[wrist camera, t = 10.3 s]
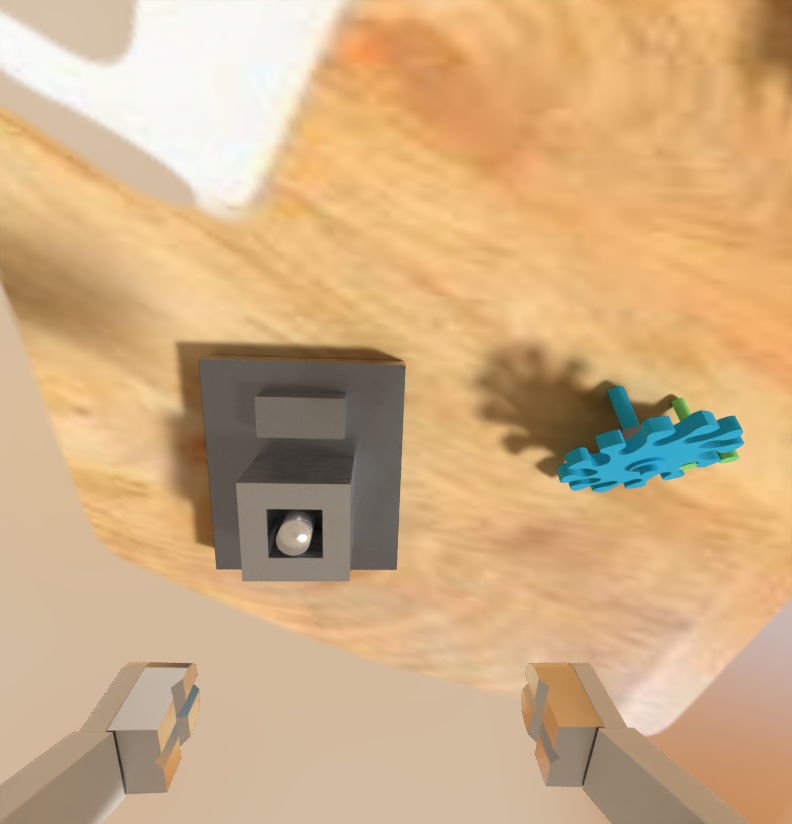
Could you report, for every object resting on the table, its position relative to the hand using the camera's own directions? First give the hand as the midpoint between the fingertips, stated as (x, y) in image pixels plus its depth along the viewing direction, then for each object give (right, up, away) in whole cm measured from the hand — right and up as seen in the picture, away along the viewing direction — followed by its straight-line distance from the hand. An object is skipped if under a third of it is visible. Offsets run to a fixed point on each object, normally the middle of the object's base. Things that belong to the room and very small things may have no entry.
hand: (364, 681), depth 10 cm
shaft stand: (-5, +3, +18) cm, 19 cm away
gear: (+16, +5, +19) cm, 25 cm away
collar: (-5, +1, +16) cm, 17 cm away
